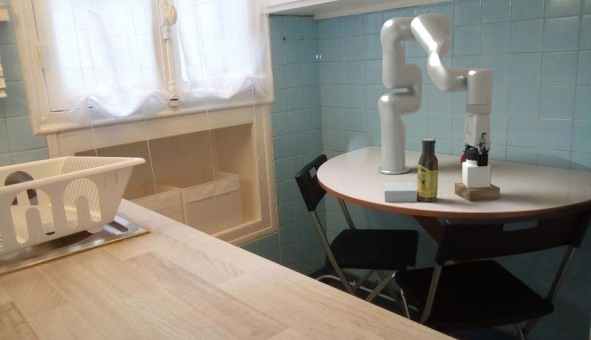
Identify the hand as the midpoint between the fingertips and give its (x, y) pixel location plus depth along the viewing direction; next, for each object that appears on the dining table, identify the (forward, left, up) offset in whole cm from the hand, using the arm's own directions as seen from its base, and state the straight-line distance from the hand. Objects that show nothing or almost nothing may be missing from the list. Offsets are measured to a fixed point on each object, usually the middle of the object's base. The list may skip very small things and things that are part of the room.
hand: (475, 162), depth 151 cm
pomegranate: (-38, +14, -11) cm, 42 cm away
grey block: (-3, -24, -11) cm, 27 cm away
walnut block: (+1, 0, -11) cm, 11 cm away
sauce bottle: (+1, -16, -11) cm, 20 cm away
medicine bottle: (+1, 0, -8) cm, 8 cm away
